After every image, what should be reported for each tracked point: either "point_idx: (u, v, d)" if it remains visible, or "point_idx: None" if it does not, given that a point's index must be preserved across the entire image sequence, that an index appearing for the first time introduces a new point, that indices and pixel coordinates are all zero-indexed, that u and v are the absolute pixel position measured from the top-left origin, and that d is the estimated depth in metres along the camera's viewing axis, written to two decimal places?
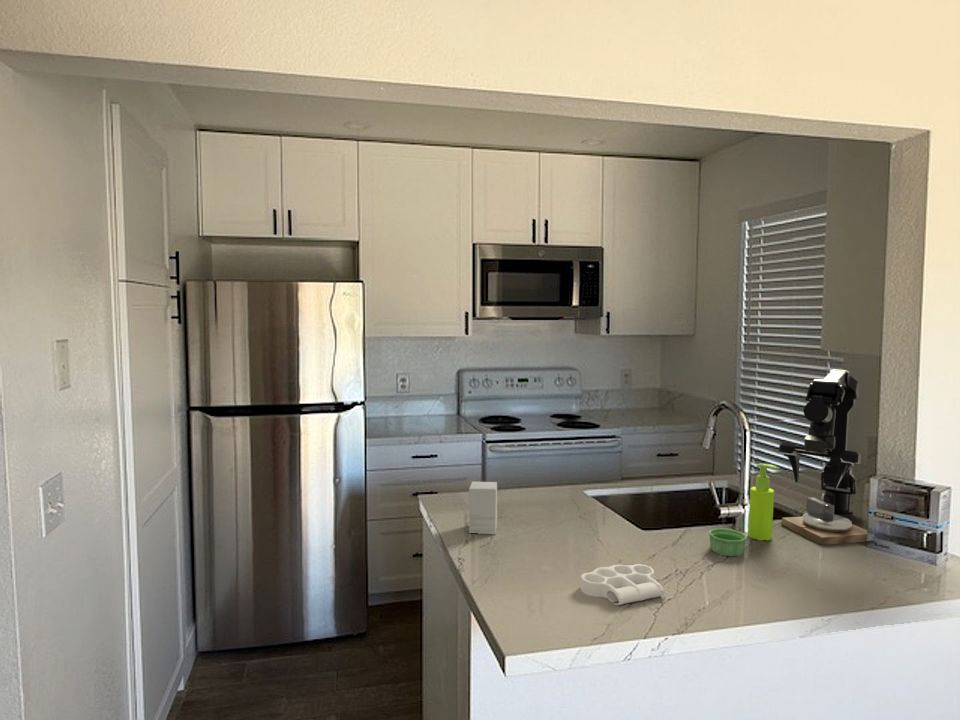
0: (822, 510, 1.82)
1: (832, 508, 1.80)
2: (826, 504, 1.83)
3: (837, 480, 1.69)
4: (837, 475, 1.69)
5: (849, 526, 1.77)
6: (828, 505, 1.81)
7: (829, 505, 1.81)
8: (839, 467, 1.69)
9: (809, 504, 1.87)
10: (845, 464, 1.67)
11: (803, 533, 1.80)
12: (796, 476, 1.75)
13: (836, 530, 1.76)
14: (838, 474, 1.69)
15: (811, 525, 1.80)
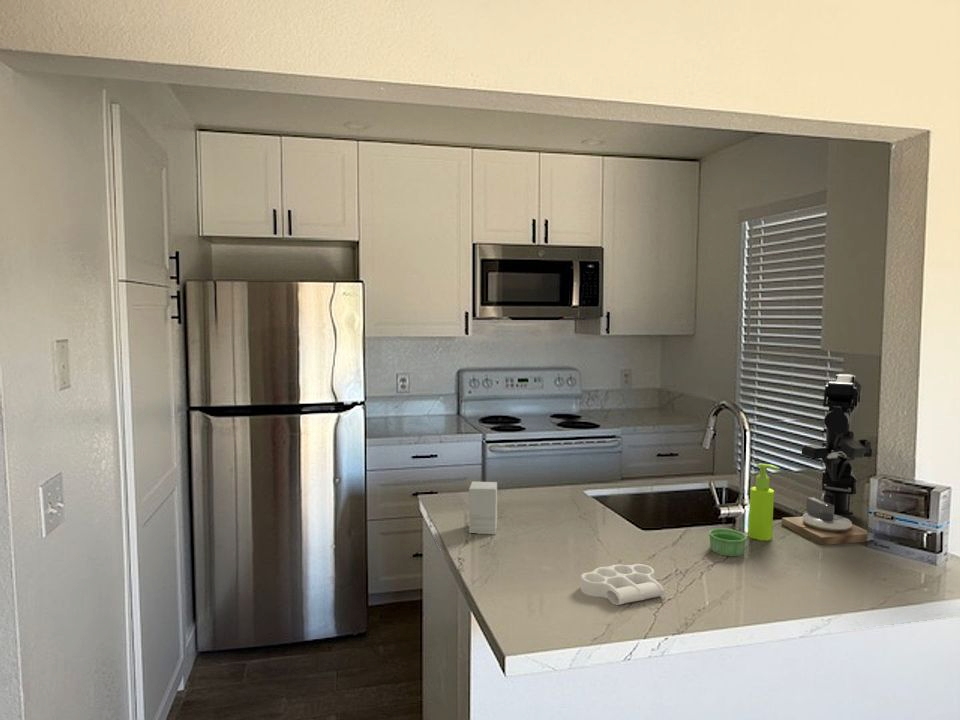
0: (822, 510, 1.82)
1: (832, 508, 1.80)
2: (826, 504, 1.83)
3: (840, 473, 1.87)
4: (841, 469, 1.86)
5: (849, 526, 1.77)
6: (828, 505, 1.81)
7: (829, 505, 1.81)
8: (844, 462, 1.85)
9: (809, 504, 1.87)
10: (851, 460, 1.85)
11: (803, 533, 1.80)
12: (835, 475, 1.86)
13: (836, 530, 1.76)
14: (842, 468, 1.86)
15: (811, 525, 1.80)
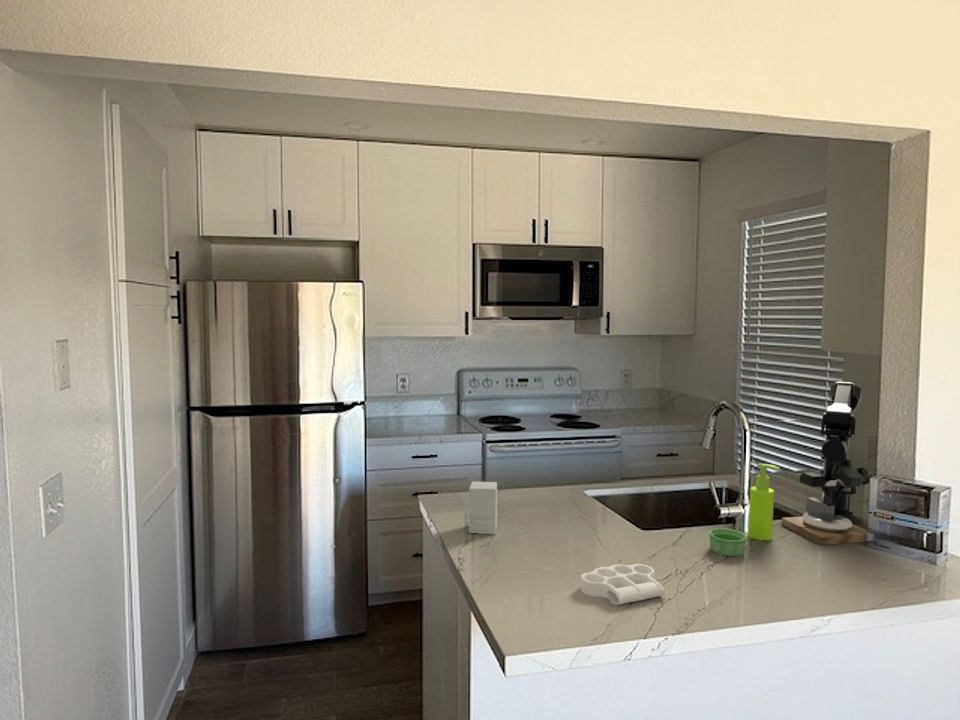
0: (822, 510, 1.82)
1: (832, 508, 1.80)
2: (826, 504, 1.83)
3: (837, 501, 1.87)
4: (838, 497, 1.87)
5: (849, 526, 1.77)
6: (828, 505, 1.81)
7: (829, 505, 1.81)
8: (841, 490, 1.86)
9: (809, 504, 1.87)
10: (848, 487, 1.85)
11: (803, 533, 1.80)
12: (834, 503, 1.87)
13: (836, 530, 1.76)
14: (839, 496, 1.87)
15: (811, 525, 1.80)
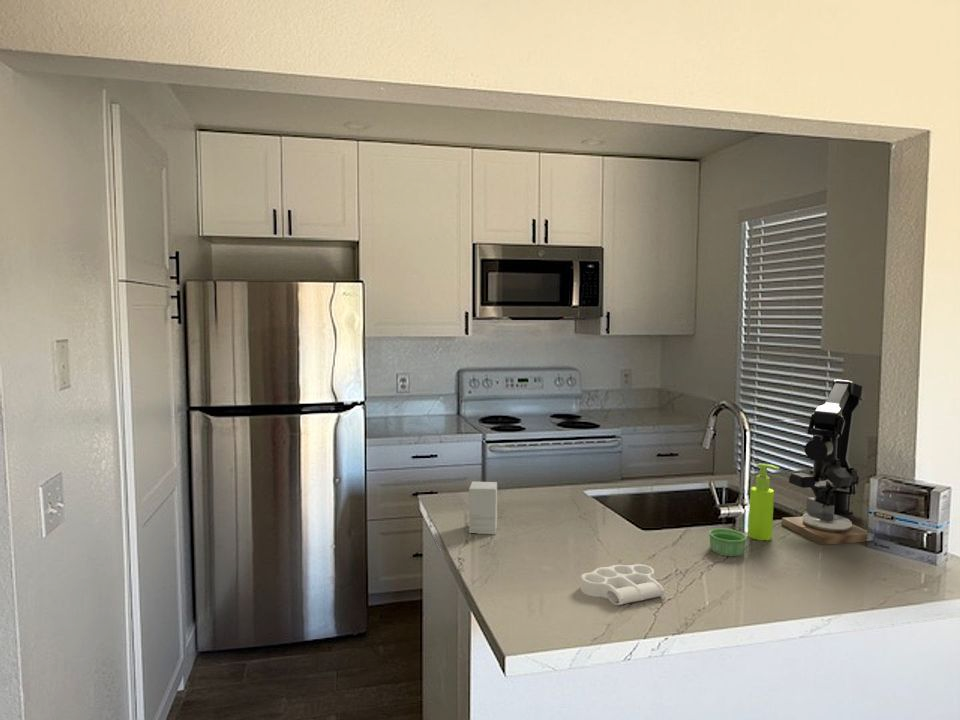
0: (822, 510, 1.82)
1: (832, 508, 1.80)
2: (826, 504, 1.83)
3: (826, 501, 1.86)
4: (827, 497, 1.86)
5: (849, 526, 1.77)
6: (828, 505, 1.81)
7: (829, 505, 1.81)
8: (830, 490, 1.85)
9: (809, 504, 1.87)
10: (837, 488, 1.85)
11: (803, 533, 1.80)
12: None
13: (836, 530, 1.76)
14: (828, 496, 1.86)
15: (811, 525, 1.80)
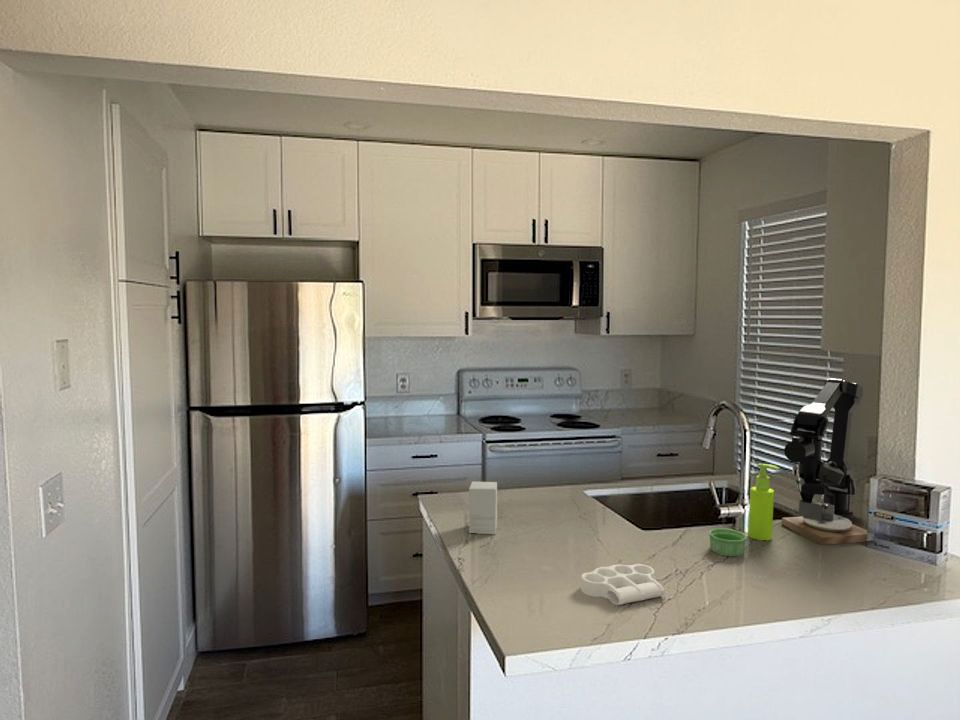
0: (827, 511, 1.81)
1: None
2: (824, 504, 1.82)
3: None
4: None
5: None
6: (829, 505, 1.81)
7: (829, 505, 1.82)
8: None
9: (803, 508, 1.84)
10: None
11: (803, 533, 1.80)
12: None
13: (850, 528, 1.78)
14: None
15: (830, 529, 1.77)
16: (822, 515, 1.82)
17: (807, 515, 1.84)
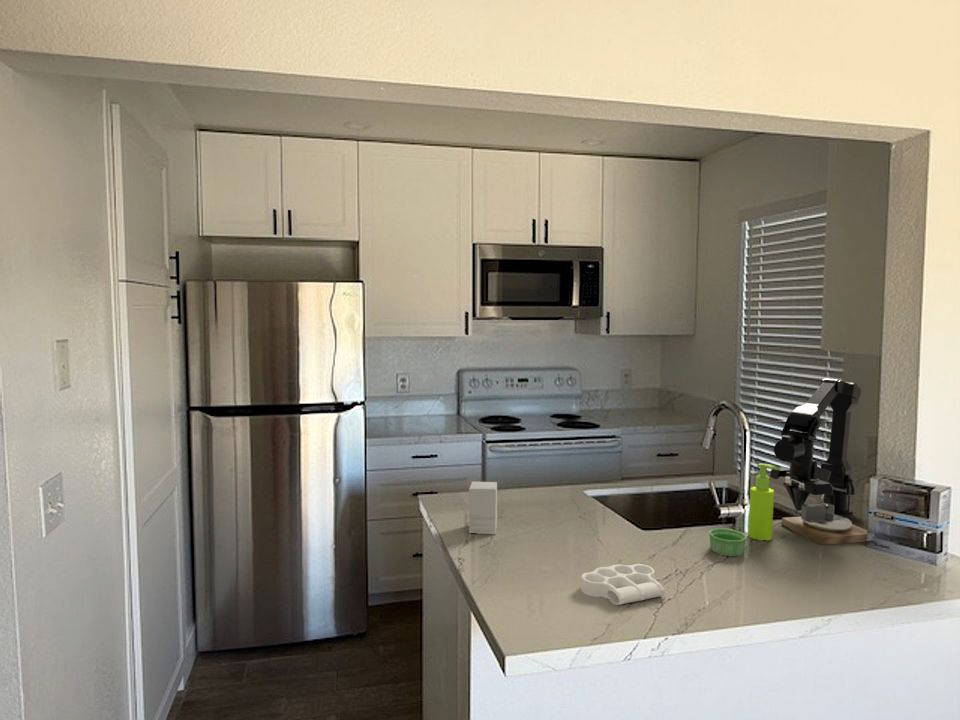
0: (831, 512, 1.80)
1: None
2: (824, 504, 1.82)
3: None
4: None
5: None
6: (829, 505, 1.82)
7: (829, 504, 1.82)
8: None
9: (809, 513, 1.80)
10: None
11: (803, 533, 1.80)
12: None
13: None
14: None
15: (845, 529, 1.77)
16: (826, 516, 1.81)
17: (813, 519, 1.80)
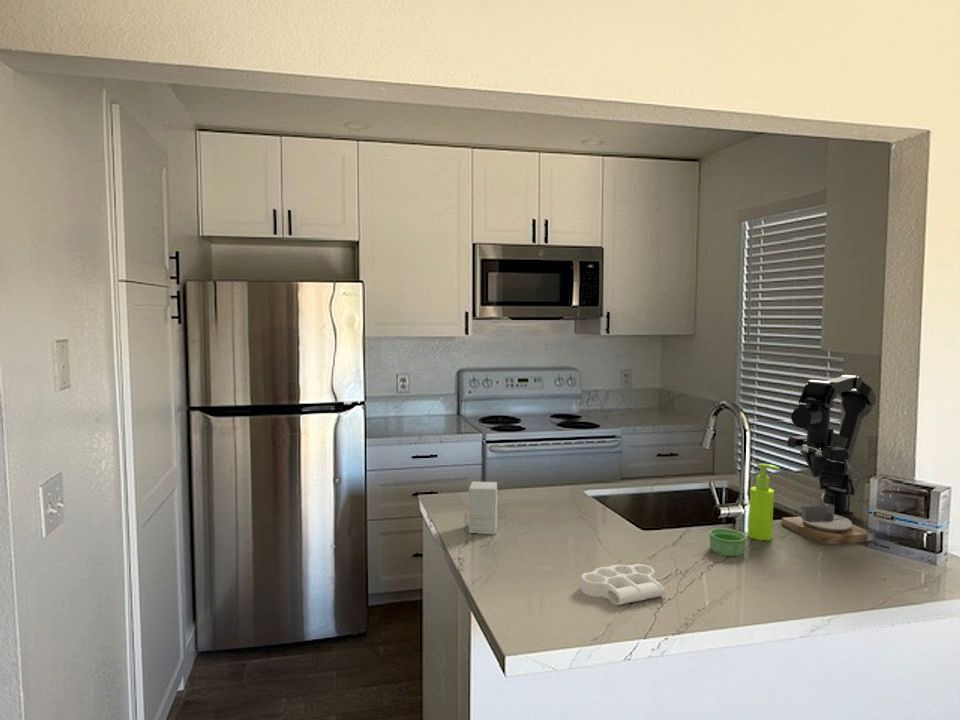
0: (831, 512, 1.80)
1: None
2: (824, 504, 1.82)
3: None
4: None
5: None
6: (829, 505, 1.82)
7: (829, 504, 1.82)
8: None
9: (809, 513, 1.80)
10: None
11: (803, 533, 1.80)
12: None
13: None
14: None
15: (845, 529, 1.77)
16: (826, 516, 1.81)
17: (813, 519, 1.80)
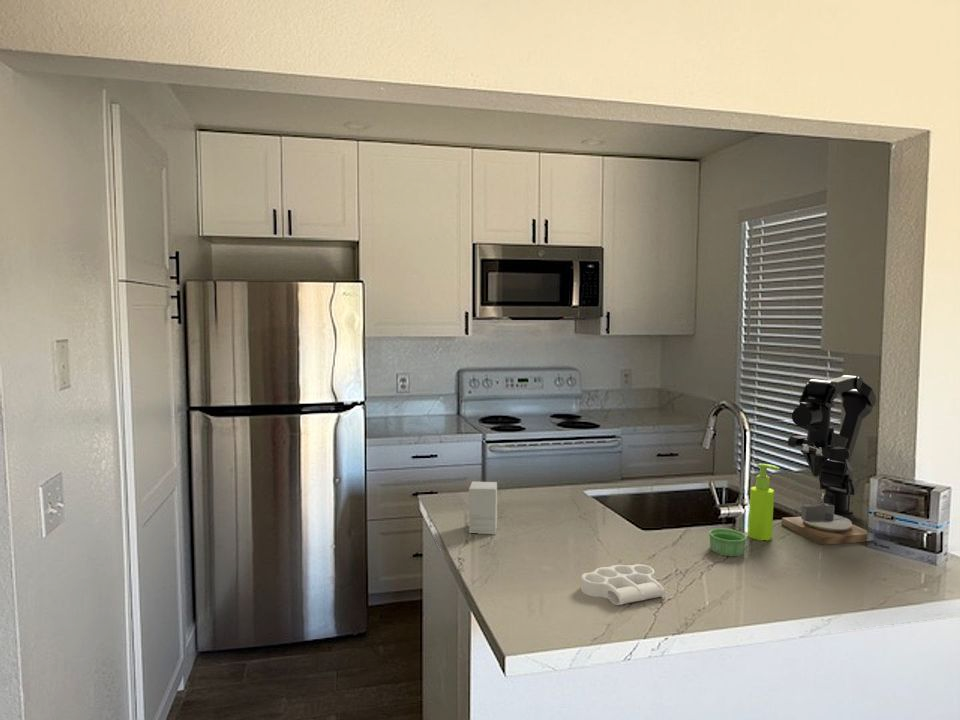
0: (831, 512, 1.80)
1: None
2: (824, 504, 1.82)
3: None
4: None
5: None
6: (829, 505, 1.82)
7: (829, 504, 1.82)
8: None
9: (809, 513, 1.80)
10: None
11: (803, 533, 1.80)
12: None
13: None
14: None
15: (845, 529, 1.77)
16: (826, 516, 1.81)
17: (813, 519, 1.80)
